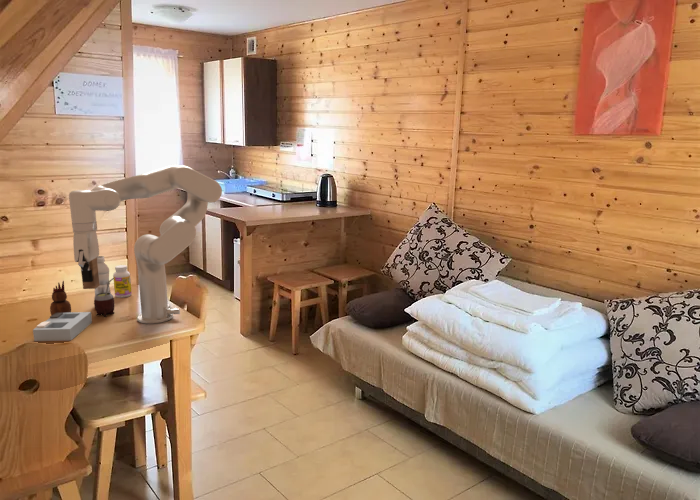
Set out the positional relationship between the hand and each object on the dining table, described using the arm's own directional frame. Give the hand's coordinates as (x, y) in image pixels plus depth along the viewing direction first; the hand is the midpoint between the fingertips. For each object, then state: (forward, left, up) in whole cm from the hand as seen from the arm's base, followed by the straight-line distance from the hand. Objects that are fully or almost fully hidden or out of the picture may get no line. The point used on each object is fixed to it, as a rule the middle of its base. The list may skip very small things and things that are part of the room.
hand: (90, 279), depth 195 cm
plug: (0, 0, -3) cm, 3 cm away
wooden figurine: (+17, -13, -19) cm, 29 cm away
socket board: (+11, -1, -19) cm, 22 cm away
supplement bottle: (+5, -44, -19) cm, 48 cm away
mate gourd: (+3, -19, -19) cm, 27 cm away
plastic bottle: (+8, -30, -19) cm, 36 cm away
